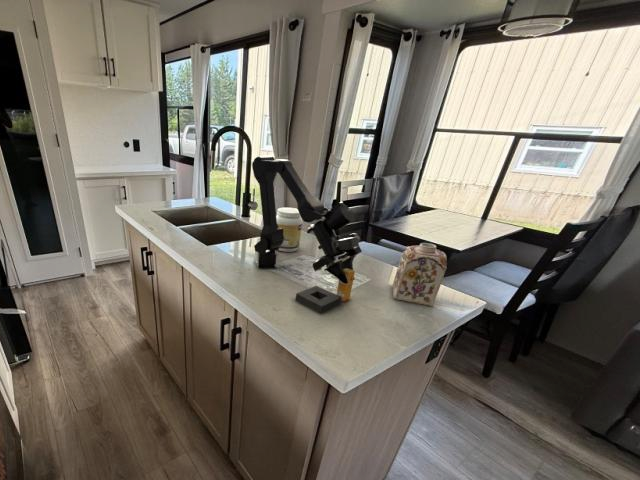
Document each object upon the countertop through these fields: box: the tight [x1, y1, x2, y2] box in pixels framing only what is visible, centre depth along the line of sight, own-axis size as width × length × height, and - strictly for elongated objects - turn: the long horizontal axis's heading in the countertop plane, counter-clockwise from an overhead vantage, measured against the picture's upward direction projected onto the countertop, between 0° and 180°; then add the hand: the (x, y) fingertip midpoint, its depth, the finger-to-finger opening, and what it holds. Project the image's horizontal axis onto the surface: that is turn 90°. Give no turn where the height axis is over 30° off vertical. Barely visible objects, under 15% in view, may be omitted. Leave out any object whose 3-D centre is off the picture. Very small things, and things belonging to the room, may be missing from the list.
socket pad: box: [294, 285, 342, 315], centre depth 102 cm, size 10×10×2 cm
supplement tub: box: [276, 207, 304, 253], centre depth 143 cm, size 12×12×17 cm
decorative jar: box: [392, 242, 448, 307], centre depth 106 cm, size 12×12×18 cm
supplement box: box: [336, 268, 356, 302], centre depth 104 cm, size 3×3×10 cm
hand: (349, 281), depth 102 cm, fingers closed on supplement box, 3 cm apart
